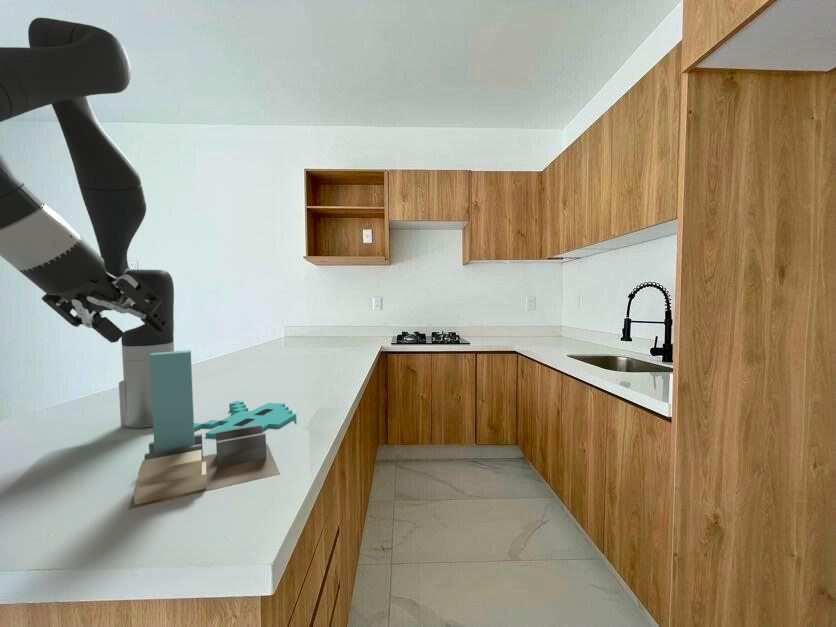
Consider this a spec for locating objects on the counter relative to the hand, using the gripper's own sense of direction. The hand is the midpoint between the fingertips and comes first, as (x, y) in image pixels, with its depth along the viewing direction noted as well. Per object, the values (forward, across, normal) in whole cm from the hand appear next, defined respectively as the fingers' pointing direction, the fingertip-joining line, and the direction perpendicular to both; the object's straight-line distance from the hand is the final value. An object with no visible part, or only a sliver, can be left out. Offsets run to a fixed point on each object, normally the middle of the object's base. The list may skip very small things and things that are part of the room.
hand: (140, 334), depth 58 cm
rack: (+17, -8, +16) cm, 25 cm away
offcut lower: (+12, -7, +19) cm, 24 cm away
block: (+15, -3, +15) cm, 21 cm away
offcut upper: (+11, -8, +18) cm, 22 cm away
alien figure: (+31, +1, -1) cm, 31 cm away
